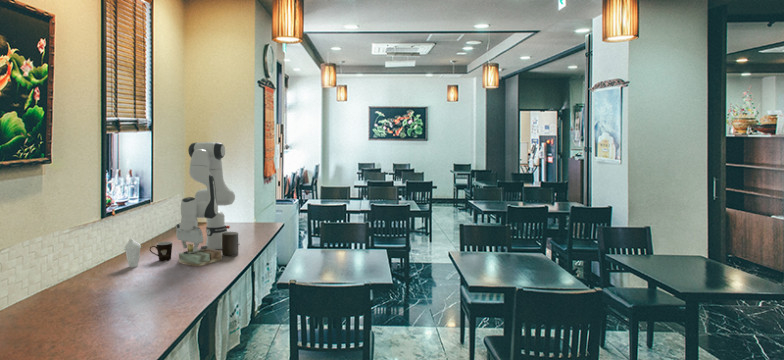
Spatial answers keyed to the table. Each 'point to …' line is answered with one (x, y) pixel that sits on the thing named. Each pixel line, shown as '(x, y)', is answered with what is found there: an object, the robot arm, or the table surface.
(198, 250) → the bar
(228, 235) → the pillar candle
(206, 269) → the table surface
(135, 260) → the soft serve ice cream cone
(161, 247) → the coffee mug
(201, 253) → the door board
